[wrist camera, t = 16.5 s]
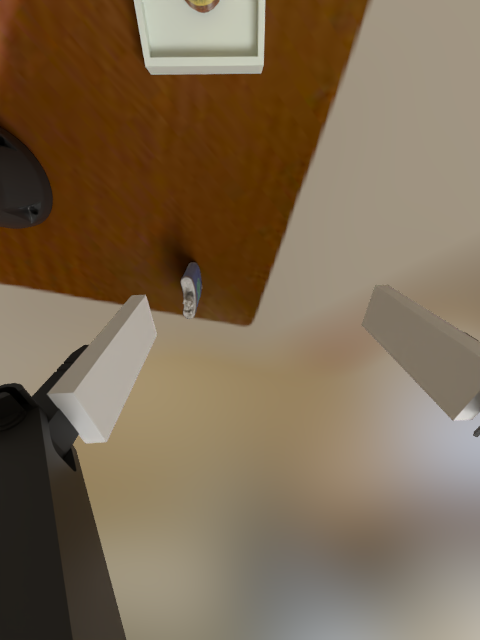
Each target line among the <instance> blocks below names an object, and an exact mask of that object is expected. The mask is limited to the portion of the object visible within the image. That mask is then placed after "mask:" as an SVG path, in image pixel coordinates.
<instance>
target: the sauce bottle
mask: <svg viewBox="0 0 480 640" xmlns="http://www.w3.org/2000/svg"><path fill="white" fill-rule="evenodd" d="M185 1H186V3H187V4H188V5H189V6H190V7H191V8H192V9H194V10H196V11H198V12H201V13H206V12H209V11H211V10H212V9H214V8H215V6H216V5H217V4H218V3H219V1H220V0H185Z"/></svg>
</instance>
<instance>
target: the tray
mask: <svg viewBox="0 0 480 640" xmlns="http://www.w3.org/2000/svg"><path fill="white" fill-rule="evenodd" d="M134 5H135V10H136V16H137V22H138V27H139V33H140V39H141V44H142V50H143V56H144V61H145V67H146V68H147V70H148V71H149V72H150V74H151V75H162V74H255V73H261V72H262V69H263V66H264V30H265V0H220V1H219V3H218V4H217V5H216V6H215V8H214V9H212V10H211V11H209V12H206V13H201V12H198V11H196V10H194V9H192V8H191V7H190V6H189V5H188V4H187V3H186V1H185V0H134Z"/></svg>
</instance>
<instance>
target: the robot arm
mask: <svg viewBox="0 0 480 640" xmlns="http://www.w3.org/2000/svg"><path fill="white" fill-rule="evenodd" d="M51 208H52V191H51V187H50V183H49V181H48V178H47V176H46V174H45V172H44V170H43V168H42V166H41V165H40V163H39V162H38V160H37V159H36V158H35V156H34V155H33V154H32V153H31V152H30V150H29V149H28V148H27V147H26V146H25V145H24V144H23V143H22V142H20V141H19V140H18V139H17V138H16V137H14V136H13V135H12V134H10V133H9V132H7V131H6V130H4V129H2V128H1V127H0V227H6V228H27V227H31V226H35V225H38V224H40V223H42V222H43V221H44V220H45V219H46V218H47V217H48V216H49V214H50V212H51ZM362 326H363V327H364V328H365V329H366V330H367V331H368V332H369V333H370V334H371V335H372V336H373V337H374V339H375V340H377V342H378V343H379V344H380V345H381V346H382V347H383V348H384V349H385V350H386V351H387V352H388V353H389V354H390V355H391V356H392V357H393V358H394V359H395V360H396V362H397V363H398V364H399V365H400V366H401V367H402V368H403V369H404V370H405V371H406V372H407V373H408V374H409V375H410V376H411V377H412V378H413V379H414V380H415V381H416V383H417V384H419V386H420V387H421V388H422V389H423V390H424V391H425V392H426V393H427V394H428V395H429V396H430V397H431V398H432V399H433V400H434V401H435V402H436V403H437V405H439V407H440V408H441V409H442V410H443V411H444V412H445V413H446V414H447V415H448V416H449V417H450V418H451V419H452V420H453V421H457V420H472V419H473V418H474V417H475V416H476V415H477V414H478V413H479V412H480V342H479V341H478V340H476V339H475V338H473V337H472V336H470V335H468V334H467V333H465V332H463V331H461V330H459V329H458V328H456V327H455V326H453V325H451V324H450V323H448V322H446V321H445V320H443V319H442V318H440V317H439V316H437V315H435V314H434V313H432V312H431V311H429V310H427V309H426V308H424V307H423V306H421V305H419V304H418V303H416V302H415V301H413V300H411V299H410V298H408V297H407V296H405V295H403V294H401V293H400V292H399V291H397V290H395V289H394V288H392V287H391V286H389V285H376V286H375V287H374V290H373V293H372V296H371V299H370V302H369V305H368V308H367V311H366V314H365V316H364V319H363V322H362ZM156 336H157V333H156V329H155V326H154V322H153V318H152V315H151V311H150V308H149V304H148V301H147V297H146V295H132V296H131V297H130V298H129V299H128V301H127V302H126V303H125V304H124V305H123V306H122V308H121V309H120V310H119V311H118V312H117V313H116V315H115V316H114V317H113V318H112V319H111V320H110V321H109V323H108V324H107V325H106V326H105V327H104V329H103V330H102V331H101V332H100V333H99V334H98V335H97V337H96V338H95V339H94V340H93V341H92V342H91V344H90V345H84V346H82V347H81V348H79V349H78V350H76V351H75V352H73V353H72V354H71V355H70V356H69V357H68V358H67V359H66V360H65V362H64V364H62V365H61V366H60V367H59V368H58V369H57V372H54V373H53V375H52V376H51V377H50V378H49V379H48V380H47V381H46V382H45V383H44V384H43V385H42V386H41V388H40V389H39V390H38V391H37V392H36V393H35V394H34V395H33V396H32V397H31V396H30V394H29V393H28V392H27V391H26V390H25V389H24V387H23V386H22V385H21V384H16V383H12V384H4V385H1V386H0V640H126V637H125V633H124V629H123V625H122V622H121V618H120V614H119V610H118V606H117V603H116V599H115V595H114V591H113V588H112V584H111V580H110V577H109V573H108V569H107V565H106V561H105V557H104V554H103V550H102V546H101V542H100V538H99V535H98V531H97V527H96V523H95V520H94V516H93V512H92V508H91V504H90V501H89V497H88V493H87V489H86V486H85V482H84V478H83V474H82V470H81V467H80V463H79V459H78V455H77V452H76V449H75V448H74V446H73V443H74V441H75V440H76V438H77V436H78V435H80V437H81V438H82V439H83V441H84V442H85V443H99V442H107V440H108V438H109V436H110V434H111V432H112V429H113V428H114V426H115V423H116V421H117V419H118V417H119V415H120V413H121V410H122V408H123V406H124V404H125V402H126V400H127V398H128V396H129V394H130V391H131V389H132V387H133V385H134V383H135V381H136V379H137V376H138V374H139V372H140V370H141V368H142V366H143V364H144V362H145V359H146V357H147V355H148V353H149V351H150V349H151V347H152V345H153V342H154V340H155V338H156ZM479 435H480V426H479V427H478V428H477V429H476V430H475V431H474V434H473V436H475V437H478V436H479Z"/></svg>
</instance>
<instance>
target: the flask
mask: <svg viewBox="0 0 480 640" xmlns="http://www.w3.org/2000/svg"><path fill="white" fill-rule="evenodd" d="M181 287H182V290H183V296H184V301H183V304H184V309H183V315H184V316H185V317H186V318H187V319H191V318H193V317H194V316H195V313H196V309H197V306H198V302H199V299H200V296H201V291H202V281H201V275H200V269H199V266H198V265H197V263H195V262H191V263H189V264H188V266H187V269H186V271H185V273H184V275H183V277H182V278H181Z"/></svg>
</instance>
